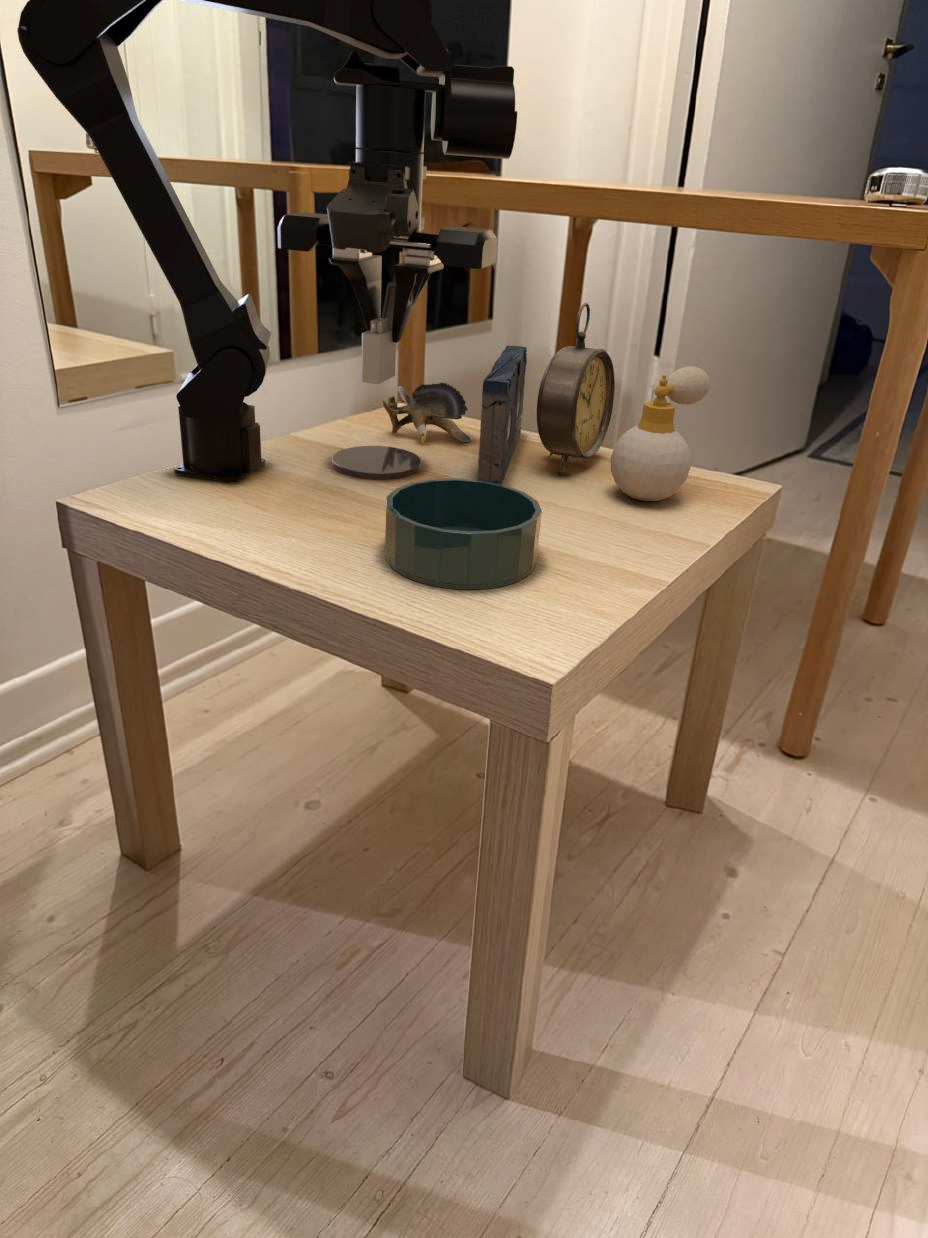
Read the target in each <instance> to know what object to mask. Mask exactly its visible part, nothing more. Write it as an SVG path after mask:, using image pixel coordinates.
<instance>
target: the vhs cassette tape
mask: <svg viewBox="0 0 928 1238" xmlns="http://www.w3.org/2000/svg"><path fill="white" fill-rule="evenodd" d="M527 352H528V348H527V346H520V345H519V346H518V345H506V346H505V348H504V349H503V350H502V352H501V354H500V356H499V357H498V358H497V359H496V361H495V362H494V364H493V366H492V368H491V370H490V373H487V376H486V377H485V378H484V379H483V381H482V392H481V396H482V397H481V412H480V427H479V428H480V431H479V445H478V446H479V447H478V448H479V450H478V469H477V480H482V481H483V480H484V481H488V482H493V483H498V484H503V481H504V479H505V476H506V474H507V471H508V469H509V466H510V463H511V461H512V458H513V455H514V453H515V450H516V448H517V445H518V442H519V439H520V436H521V434H522V415H523V411H524V410H523V409H524V407H523V406H524V393H525V383H526V370H527V363H528V357H527V354H528V353H527Z"/></svg>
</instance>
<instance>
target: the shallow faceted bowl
mask: <svg viewBox="0 0 928 1238" xmlns="http://www.w3.org/2000/svg"><path fill="white" fill-rule="evenodd" d="M542 513H543V509H542V508H541V505H540V503H539V501H538V500H537V499H535V498H534V497H532V496H531V495H530V494H528V493H527V492H525V491H523V490H519V489H517V488H514V487H513V486H509V485H507V484H503V483H502V484H499V483H493V482H488V481H484V480H483V481H482V480H478V479H473V478H460V477H452V478H450V477H449V478H448V477H447V478H429V479H424V480H419V481H418V480H417V481H413V482H409V483H407V484H404V485H401V486H399V487H396V488H394V489H393V490H392V491H391V492H390V493H389V494H388V495H387V496H386V497H385V521H384V522H385V523H384V524H385V525H384V558H385V561H386V563H387V564H388V566H389V567H391V569H392V570H394V571H395V572H396V573H398V574H400V575H401V576H403V577H405V578H407V579H410V580H411V581H413V582H417V583H420V584H424V585H428V586H433V587H437V588H443V589H449V590H451V589H453V590H485V589H496V588H500V587H501V588H502V587H505V586H509V585H512V584H515V583H517V582H519V581H521V580H523V579H525V578H527V577H528V576H529V575H530V574H531V573H532V572H533V571H534V569H535V566H536V563H537V562H536V561H537V559H538V551H539V542H540V533H541V522H542Z"/></svg>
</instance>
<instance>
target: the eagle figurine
mask: <svg viewBox="0 0 928 1238" xmlns="http://www.w3.org/2000/svg"><path fill="white" fill-rule="evenodd" d="M397 391H398V393H399V395H400V397H401V399H402V400H403V401H404V403H405V404H406V405H402V406H398V405H399V404H398V402H397V401H396V397H395V396H394V395H392V396H390V397H389V396H388V397H387V399H388V400H387V401H386V400H384V399H383V400H382V404H383V408H384V410H385V411H386V413H387V414H388V416H389V420H390V422H391V425H392V429H391V433H392V435H394V434H397V433H398V431H399V430H400V429H401V428H402V427H403V426H405V425H408V424H412V423H413V426H414V428H415V429H416V431H417V433H418V436H419V439H420V444H422V445H423V444H425V441H426V439H427V436H428V432H427V426H428V425H430V426H431V425H432V426H435V427H438V428H440V429H441V430H443V431H445V432H447V433H448V434H450V435H451V436H452V437H454V439H456V440H457V441H459V442H461V443H472V441H473V440H472V439H471V436H469V435H467V434H466V433H465V432H464V431H463V430H462V429H461V428H460V427H459V426H458V425H457V424H456V423H455V421H454V420H461V419H462V418H463V416H464V415H466V412H467V411H468V406H467V405H466V404H467V403H466V402H467V401H466V400H465V399H464V395H463V394H461V391H459V390H457V388H455V387H454V386H453V385H451V384H448V383H446V382H437V383H431V384H430V383H429V384H427V383H425V384H419V386H417V387H416V388H415V389H414V390H413V391H412V392H411V393H412V394H411V396H410V394H408V392H407V391H406V389H405V388H404V387H403V386H401V385H400V386H398V387H397ZM404 414H406V415H405V416H404V417H402V418H401V419H399V417H398V415H404Z"/></svg>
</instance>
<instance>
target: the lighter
mask: <svg viewBox="0 0 928 1238" xmlns="http://www.w3.org/2000/svg"><path fill="white" fill-rule="evenodd" d="M386 285H387V286H386V290H385V291H386V292H385V296H384V301H383V305H382V310H381V318H377V319H374V320H371V330H369V331H368V330H367V331H364V332H362V333H361V383H366V384H371V385H372V384H374V385H381V384H382V383H384V382H386V381H388V380H390V379H392V378H394V377H396V358H397V357H396V355H397V351H396V350H397V343H394V342H393V339H392V322H393V311H394V301H395V290H396V282H391V281H390V282H388V283H387V284H386Z"/></svg>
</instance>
